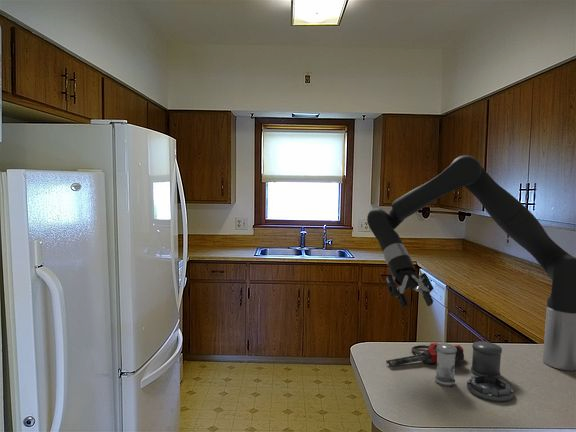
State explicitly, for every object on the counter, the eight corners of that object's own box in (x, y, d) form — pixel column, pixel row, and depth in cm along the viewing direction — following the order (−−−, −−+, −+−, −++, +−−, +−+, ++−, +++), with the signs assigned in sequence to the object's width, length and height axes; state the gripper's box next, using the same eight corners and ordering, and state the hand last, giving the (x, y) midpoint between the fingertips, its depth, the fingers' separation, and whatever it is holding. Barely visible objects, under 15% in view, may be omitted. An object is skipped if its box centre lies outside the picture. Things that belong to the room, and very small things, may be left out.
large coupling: (485, 366, 123) (487, 340, 122) (506, 377, 116) (508, 349, 115) (465, 369, 120) (466, 342, 120) (485, 381, 113) (487, 353, 113)
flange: (489, 378, 115) (490, 371, 115) (523, 398, 104) (524, 390, 104) (457, 384, 111) (458, 376, 111) (489, 405, 101) (490, 396, 101)
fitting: (446, 376, 116) (447, 342, 115) (459, 385, 111) (461, 349, 110) (431, 379, 114) (432, 344, 113) (443, 388, 109) (445, 351, 108)
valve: (443, 352, 138) (475, 365, 123) (373, 364, 130) (399, 379, 116) (441, 333, 138) (473, 343, 124) (372, 344, 131) (397, 356, 116)
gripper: (384, 254, 128) (404, 301, 118) (422, 253, 132) (444, 298, 122) (374, 267, 133) (392, 313, 123) (411, 266, 138) (432, 310, 128)
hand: (418, 305), depth 123 cm, fingers open, 8 cm apart
